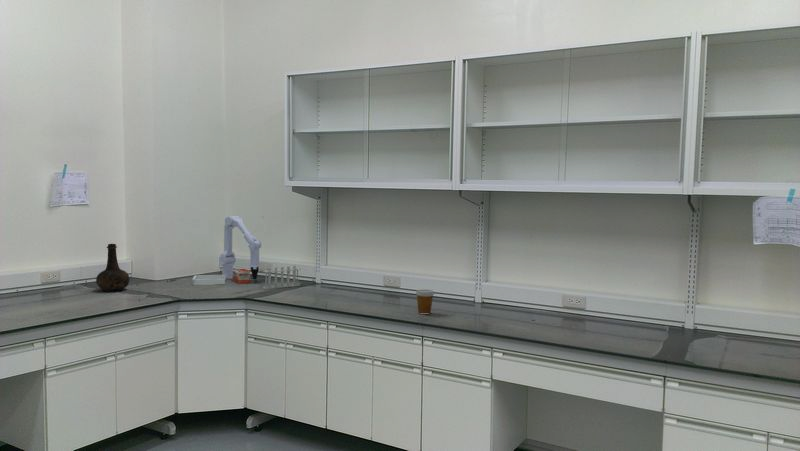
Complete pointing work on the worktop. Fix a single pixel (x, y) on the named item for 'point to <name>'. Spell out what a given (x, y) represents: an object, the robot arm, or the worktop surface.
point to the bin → (208, 279)
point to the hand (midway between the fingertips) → (254, 278)
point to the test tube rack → (281, 277)
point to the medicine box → (241, 276)
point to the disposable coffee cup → (424, 300)
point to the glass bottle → (112, 273)
